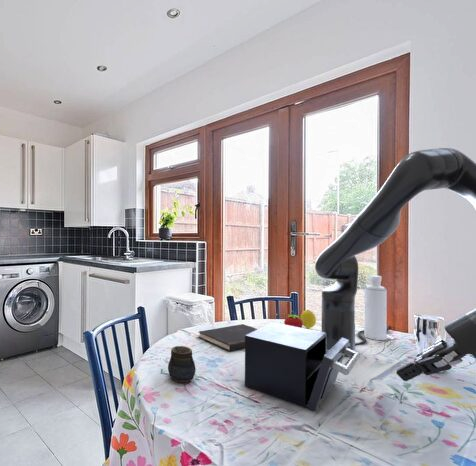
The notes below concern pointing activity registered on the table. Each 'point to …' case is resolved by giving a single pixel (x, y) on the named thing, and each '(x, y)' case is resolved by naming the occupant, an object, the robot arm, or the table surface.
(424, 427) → the table surface
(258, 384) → the oven
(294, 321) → the strawberry
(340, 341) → the oven door
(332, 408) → the table surface
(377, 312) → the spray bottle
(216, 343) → the hardcover book
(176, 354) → the mate gourd
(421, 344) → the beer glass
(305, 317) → the lemon
